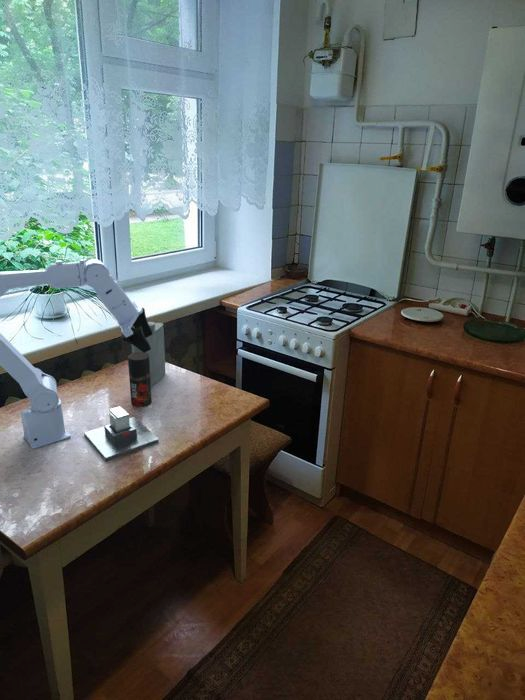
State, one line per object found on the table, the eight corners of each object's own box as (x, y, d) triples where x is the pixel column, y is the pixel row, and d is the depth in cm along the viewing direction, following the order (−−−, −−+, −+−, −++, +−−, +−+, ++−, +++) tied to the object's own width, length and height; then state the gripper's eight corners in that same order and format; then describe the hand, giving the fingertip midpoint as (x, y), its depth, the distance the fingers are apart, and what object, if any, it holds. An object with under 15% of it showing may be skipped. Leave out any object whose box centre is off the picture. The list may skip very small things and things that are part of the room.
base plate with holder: (105, 461, 118) (104, 448, 117) (84, 435, 128) (83, 424, 127) (158, 442, 127) (158, 430, 125) (134, 419, 137) (133, 408, 135)
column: (118, 442, 124) (116, 418, 122) (110, 433, 128) (107, 409, 125) (132, 437, 126) (130, 413, 124) (123, 429, 130) (121, 405, 127)
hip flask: (158, 371, 167) (156, 314, 159) (169, 373, 166) (167, 316, 158) (132, 391, 153) (128, 330, 145) (144, 393, 152) (140, 332, 144)
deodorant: (154, 398, 148) (151, 352, 143) (148, 408, 143) (145, 360, 137) (135, 397, 149) (131, 351, 143) (128, 406, 143) (124, 359, 138)
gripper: (128, 308, 116) (160, 350, 123) (133, 283, 128) (162, 322, 135) (103, 321, 117) (136, 363, 124) (110, 295, 129) (140, 334, 136)
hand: (148, 342), depth 130 cm, fingers open, 7 cm apart
